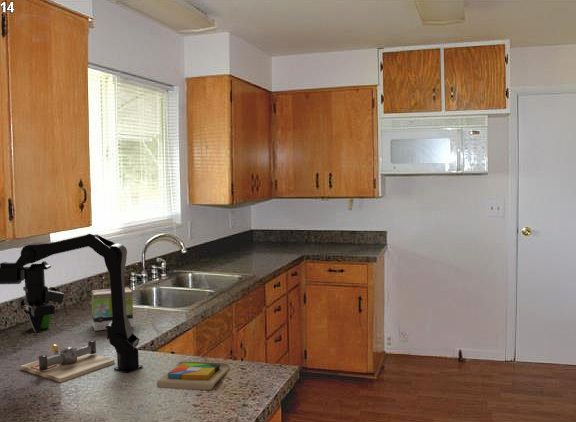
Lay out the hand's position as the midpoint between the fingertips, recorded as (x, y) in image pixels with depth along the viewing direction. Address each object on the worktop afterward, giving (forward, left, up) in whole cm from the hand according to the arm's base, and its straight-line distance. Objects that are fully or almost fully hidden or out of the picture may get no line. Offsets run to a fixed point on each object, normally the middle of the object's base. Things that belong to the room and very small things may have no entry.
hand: (37, 332), depth 183 cm
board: (-4, -8, -12) cm, 15 cm away
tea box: (+23, -47, -13) cm, 54 cm away
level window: (-1, -1, -11) cm, 11 cm away
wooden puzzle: (-45, -23, -13) cm, 52 cm away
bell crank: (-1, -8, -11) cm, 13 cm away
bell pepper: (+46, -30, -13) cm, 56 cm away
